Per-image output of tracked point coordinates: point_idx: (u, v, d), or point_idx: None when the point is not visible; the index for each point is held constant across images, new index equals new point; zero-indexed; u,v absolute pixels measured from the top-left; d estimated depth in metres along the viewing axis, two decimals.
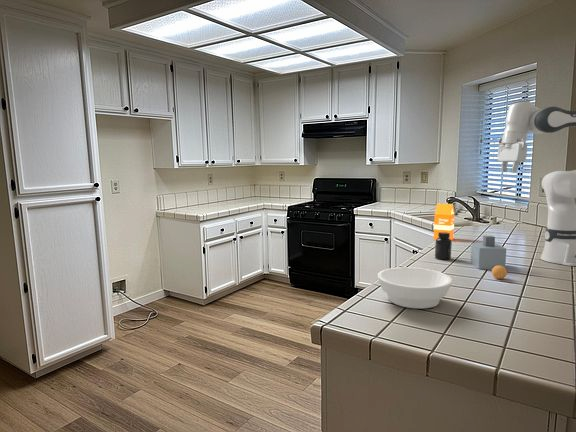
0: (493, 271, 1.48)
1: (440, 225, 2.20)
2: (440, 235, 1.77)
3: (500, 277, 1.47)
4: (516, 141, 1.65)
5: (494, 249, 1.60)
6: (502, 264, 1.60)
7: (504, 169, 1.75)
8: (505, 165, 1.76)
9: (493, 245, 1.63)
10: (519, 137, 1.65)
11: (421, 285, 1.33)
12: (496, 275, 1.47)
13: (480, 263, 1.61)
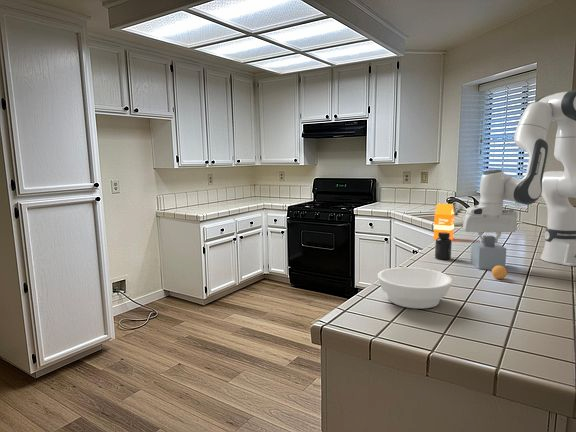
0: (493, 271, 1.48)
1: (440, 225, 2.20)
2: (440, 235, 1.77)
3: (500, 277, 1.47)
4: None
5: (494, 249, 1.60)
6: (502, 264, 1.60)
7: None
8: None
9: (493, 245, 1.63)
10: None
11: (421, 285, 1.33)
12: (496, 275, 1.47)
13: (480, 263, 1.61)
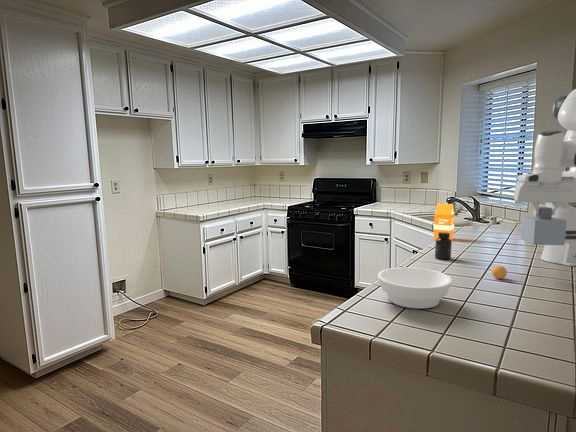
0: (493, 271, 1.48)
1: (440, 225, 2.20)
2: (440, 235, 1.77)
3: (500, 277, 1.47)
4: None
5: (552, 221, 1.39)
6: (561, 239, 1.39)
7: None
8: None
9: (550, 217, 1.42)
10: None
11: (421, 285, 1.33)
12: (496, 275, 1.47)
13: (535, 238, 1.41)
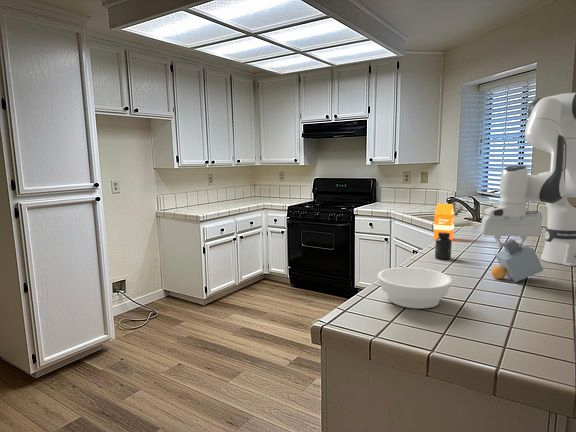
0: (492, 271, 1.48)
1: (440, 225, 2.20)
2: (440, 235, 1.77)
3: (500, 277, 1.47)
4: (525, 213, 1.43)
5: (521, 255, 1.41)
6: (538, 266, 1.41)
7: None
8: None
9: (518, 249, 1.44)
10: None
11: (421, 285, 1.33)
12: (496, 275, 1.47)
13: (514, 275, 1.42)
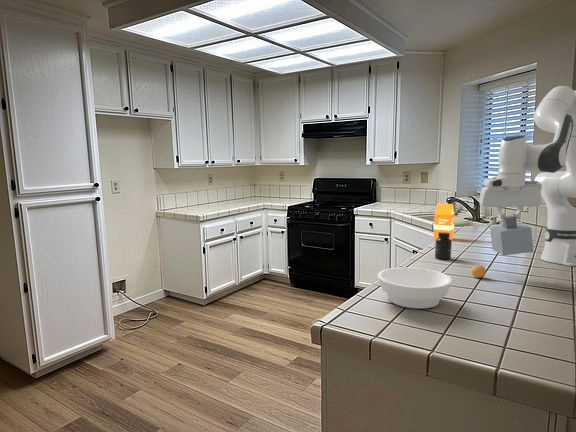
0: (485, 273, 1.49)
1: (440, 225, 2.20)
2: (440, 235, 1.77)
3: (481, 269, 1.48)
4: (524, 183, 1.42)
5: (517, 230, 1.41)
6: (529, 246, 1.41)
7: None
8: None
9: (515, 226, 1.44)
10: None
11: (421, 285, 1.33)
12: (484, 271, 1.48)
13: (504, 248, 1.42)
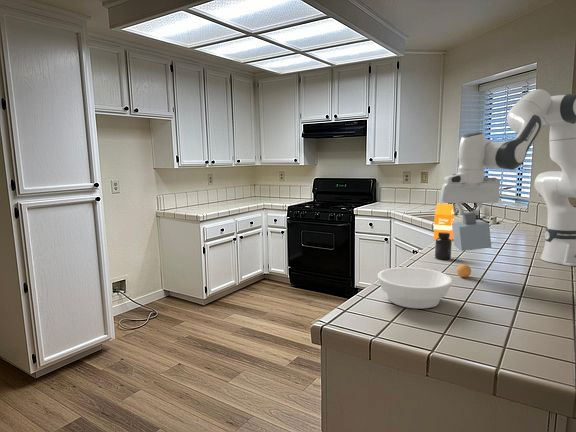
0: (463, 265, 1.50)
1: (440, 225, 2.20)
2: (440, 235, 1.77)
3: (462, 273, 1.49)
4: None
5: (475, 226, 1.42)
6: (487, 242, 1.42)
7: None
8: None
9: (474, 222, 1.45)
10: None
11: (421, 285, 1.33)
12: (462, 269, 1.49)
13: (462, 244, 1.44)
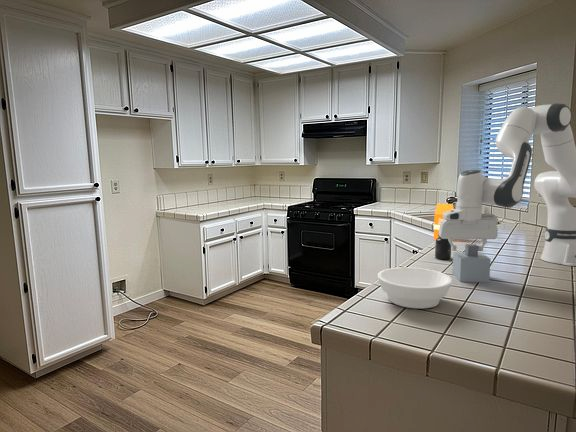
0: None
1: None
2: None
3: None
4: None
5: (477, 259, 1.44)
6: (486, 276, 1.44)
7: None
8: (451, 242, 1.50)
9: (476, 255, 1.47)
10: None
11: (421, 285, 1.33)
12: None
13: (461, 275, 1.45)
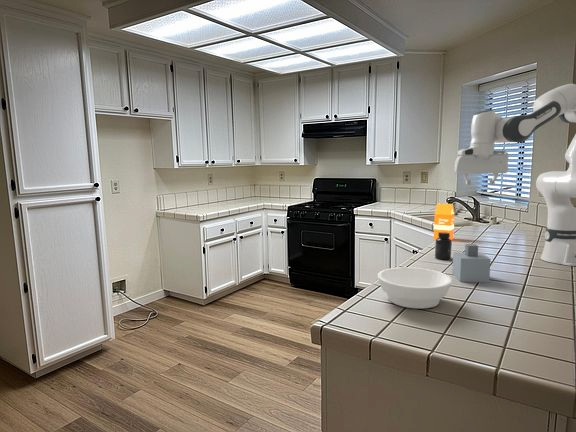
0: None
1: (440, 225, 2.20)
2: (440, 235, 1.77)
3: None
4: None
5: (477, 259, 1.44)
6: (486, 276, 1.44)
7: None
8: None
9: (476, 255, 1.47)
10: None
11: (421, 285, 1.33)
12: None
13: (461, 275, 1.45)
